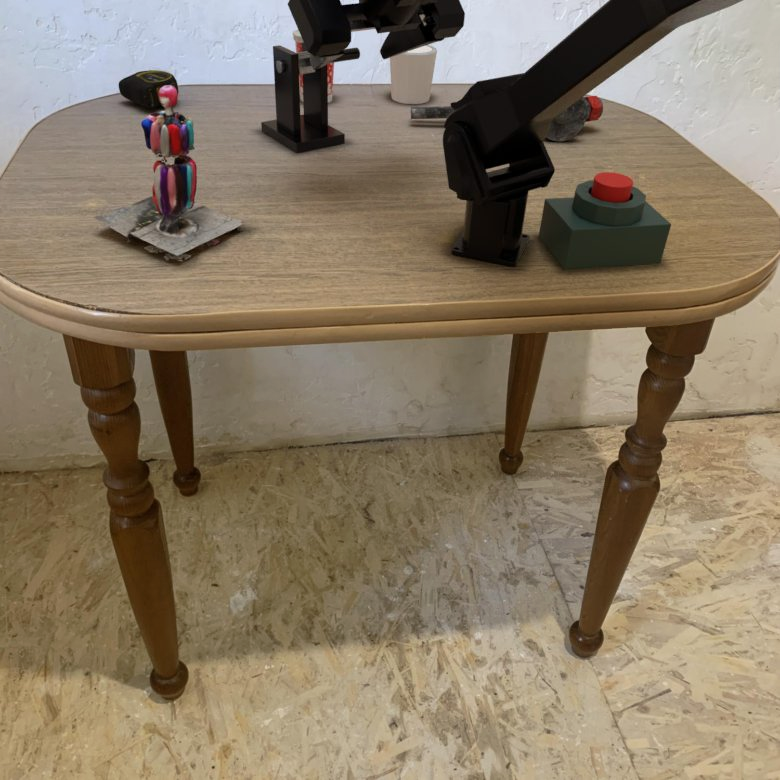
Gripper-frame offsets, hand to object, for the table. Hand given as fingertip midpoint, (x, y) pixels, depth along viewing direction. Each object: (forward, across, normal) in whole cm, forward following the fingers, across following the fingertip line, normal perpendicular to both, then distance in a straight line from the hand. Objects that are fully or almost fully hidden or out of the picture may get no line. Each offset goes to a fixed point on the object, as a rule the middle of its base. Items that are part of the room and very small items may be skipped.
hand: (348, 60), depth 85 cm
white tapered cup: (+20, -22, -4) cm, 30 cm away
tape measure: (+31, +12, -14) cm, 36 cm away
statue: (+4, +25, +13) cm, 28 cm away
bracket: (+16, 0, +1) cm, 16 cm away
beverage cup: (+25, -10, -8) cm, 28 cm away
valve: (+10, -27, +7) cm, 30 cm away
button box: (-14, -9, +31) cm, 35 cm away
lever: (+6, 0, -3) cm, 7 cm away
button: (-18, -9, +27) cm, 33 cm away
